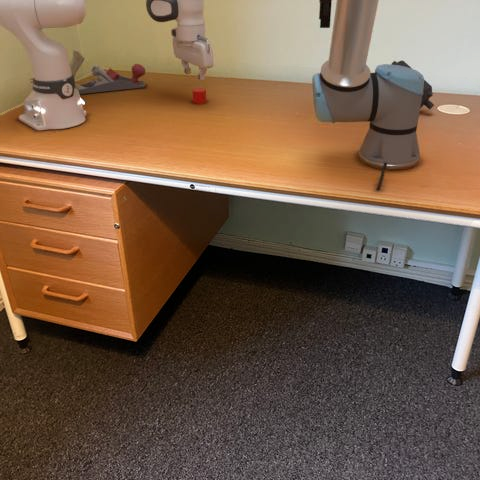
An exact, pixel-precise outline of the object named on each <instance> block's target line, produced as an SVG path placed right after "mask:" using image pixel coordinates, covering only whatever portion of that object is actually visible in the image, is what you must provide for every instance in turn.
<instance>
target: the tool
mask: <svg viewBox="0 0 480 480" xmlns="http://www.w3.org/2000/svg"><path fill="white" fill-rule="evenodd" d="M390 64H391V65H399V66H404V67H408V68H411V69H413V68H412V67H411V66H410V65H409V64H408V63H406V61H404V60H399V61H395V60H394V61H392V62H391V63H390ZM423 92H424V93H423V95H422V101H421V106H420V110H421V109H422V108H423V107H426V108H427V109H428V110H430V111H431V109H433V107H434V106H435V104H434V103H433V102H432V101H431V100H430V98H432V97H433V95H434V94H433V85H431V84H430V83H429V82H428V81H427V80H425V79H424V87H423Z"/></svg>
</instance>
